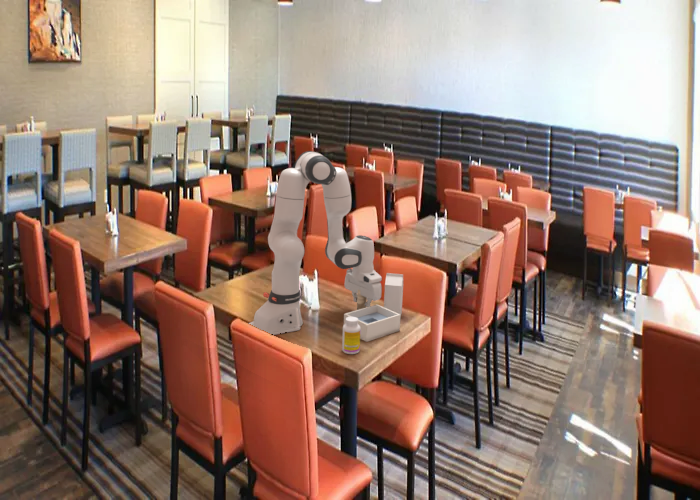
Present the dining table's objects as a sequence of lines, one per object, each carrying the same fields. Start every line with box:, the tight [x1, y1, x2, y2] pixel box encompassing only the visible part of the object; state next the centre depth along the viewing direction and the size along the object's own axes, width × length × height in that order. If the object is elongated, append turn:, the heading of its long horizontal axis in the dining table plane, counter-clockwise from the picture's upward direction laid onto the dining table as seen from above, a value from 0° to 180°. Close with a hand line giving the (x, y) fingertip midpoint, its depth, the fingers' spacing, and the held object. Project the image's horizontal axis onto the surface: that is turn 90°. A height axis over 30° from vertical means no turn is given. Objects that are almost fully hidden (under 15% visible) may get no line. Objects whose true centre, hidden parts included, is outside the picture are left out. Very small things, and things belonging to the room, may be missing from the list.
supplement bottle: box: [341, 317, 361, 355], centre depth 216 cm, size 7×7×13 cm
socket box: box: [343, 304, 402, 342], centre depth 236 cm, size 18×14×7 cm
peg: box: [356, 290, 367, 310], centre depth 250 cm, size 4×4×12 cm
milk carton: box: [383, 272, 404, 316], centre depth 250 cm, size 7×7×19 cm
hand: (361, 304), depth 250 cm, fingers open, 6 cm apart
